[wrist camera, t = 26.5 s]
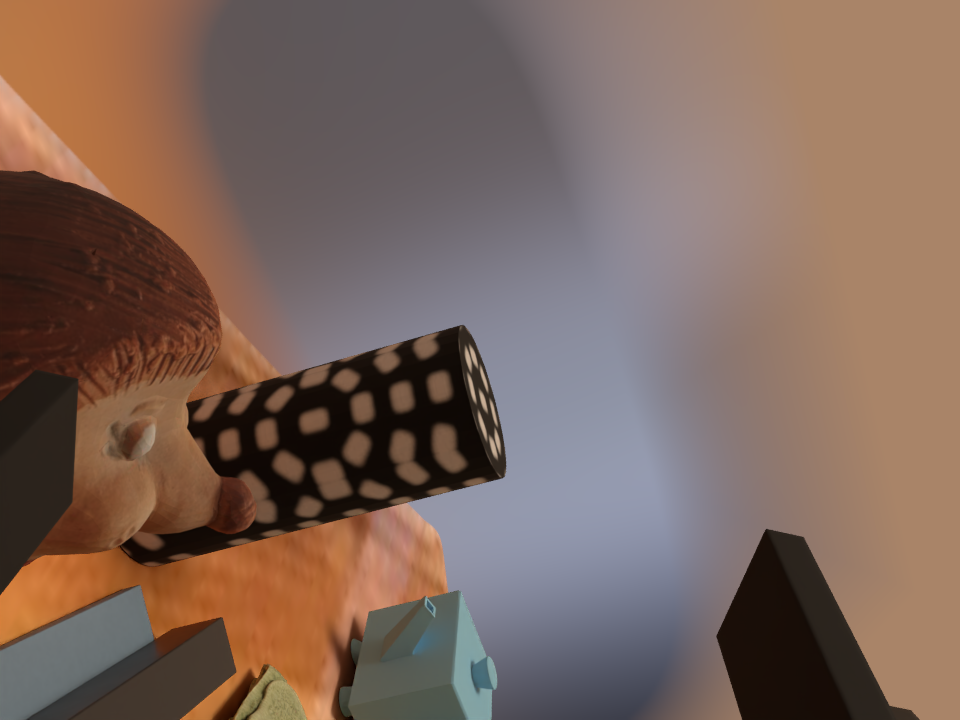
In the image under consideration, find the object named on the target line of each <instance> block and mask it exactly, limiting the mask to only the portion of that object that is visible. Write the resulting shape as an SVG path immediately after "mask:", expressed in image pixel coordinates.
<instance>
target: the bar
mask: <svg viewBox="0 0 960 720" xmlns="http://www.w3.org/2000/svg"><path fill="white" fill-rule="evenodd" d="M235 673H236V668H235V664H234V660H233V656H232V652H231V648H230V645H229V641H228V637H227V633H226V629H225V625H224V621H223V618H222V617H220V618H216V619H212V620H207V621H203V622H199V623H195V624H191V625H187V626H183V627H179V628H175V629H172V630H170V631H168V632H167V633H165V634H164V635H162V636H160V637H159V638H157V639H156V640H154V641H152V642H151V643H149V644H147V645H146V646H144V647H143V648H141V649H139V650H138V651H136V652H135V653H133V654H131V655H130V656H128V657H127V658H125V659H123V660H122V661H120V662H118V663H117V664H115V665H114V666H112V667H110V668H109V669H107V670H106V671H104V672H102V673H101V674H99V675H97V676H96V677H94V678H93V679H91V680H89V681H88V682H86V683H85V684H83V685H81V686H80V687H78V688H77V689H75V690H73V691H72V692H70V693H68V694H67V695H65V696H64V697H62V698H60V699H59V700H57V701H56V702H54V703H52V704H51V705H49V706H48V707H46V708H44V709H43V710H41V711H39V712H38V713H36V714H35V715H33V716H31V717H30V718H28V719H27V720H180V719H181V718H182V717H183V716H185V715H186V714H187V713H188V712H189V711H191V710H192V709H193V708H194V707H195V706H196V705H198V704H199V703H200V702H201V701H202V700H204V699H205V698H206V697H207V696H208V695H210V694H211V693H212V692H213V691H214V690H216V689H217V688H218V687H219V686H220V685H222V684H223V683H224V682H225V681H226V680H227V679H229V678H230V677H231V676H232V675H233V674H235Z"/></svg>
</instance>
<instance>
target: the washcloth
mask: <svg viewBox="0 0 960 720" xmlns="http://www.w3.org/2000/svg"><path fill="white" fill-rule="evenodd" d="M229 720H307V718H306V716H305V712H304V709H303V707H302V705H301V702H300V700H299V698H298V696H297V694H296V693H295V691H294V690H293V689H292V687H291V686H290V685H288V684H287V680H285V679H284V678H283V676H282V675H281V674H280V673H279V671H277V670H276V669H275V668H274V667H272V666H271V665H269V664H267V665H265V664H264V665H263V667H262V669H261V672H260V675H259V677H258V678H254V679H253V680H252V682H251V684H250V689H249V692H248V695H247V697H246V698H245V700H243V701H242V703H241V706H240V707H239V709H238V710H237V712H236V714H235V716H234V717H231V718H230V719H229Z"/></svg>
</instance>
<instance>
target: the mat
mask: <svg viewBox="0 0 960 720" xmlns="http://www.w3.org/2000/svg"><path fill="white" fill-rule="evenodd" d="M152 641H154V637H153V633H152V629H151V625H150V621H149V617H148V613H147V609H146V605H145V601H144V597H143V593H142V589H141V586H140V585H138V586H134V587H130V588H126V589H123V590H120V591H118V592H116V593H114V594H112V595H110V596H108V597H105V598H103V599H101V600H99V601H97V602H95V603H92V604H90V605H88V606H86V607H84V608H82V609H79V610H77V611H75V612H73V613H71V614H69V615H66V616H64V617H62V618H60V619H58V620H56V621H53V622H51V623H49V624H47V625H45V626H43V627H41V628H38V629H36V630H34V631H32V632H30V633H28V634H25V635H23V636H21V637H19V638H17V639H15V640H12V641H10V642H8V643H6V644H4V645H2V646H0V720H27V719H28V718H30V717H31V716H33V715H35V714H36V713H38V712H39V711H41V710H43V709H44V708H46V707H48V706H49V705H51V704H52V703H54V702H56V701H57V700H59V699H60V698H62V697H64V696H65V695H67V694H68V693H70V692H72V691H73V690H75V689H77V688H78V687H80V686H81V685H83V684H85V683H86V682H88V681H89V680H91V679H93V678H94V677H96V676H97V675H99V674H101V673H102V672H104V671H106V670H107V669H109V668H110V667H112V666H114V665H115V664H117V663H118V662H120V661H122V660H123V659H125V658H127V657H128V656H130V655H131V654H133V653H135V652H136V651H138V650H139V649H141V648H143V647H144V646H146V645H147V644H149V643H151V642H152Z"/></svg>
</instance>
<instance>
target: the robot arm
mask: <svg viewBox="0 0 960 720" xmlns="http://www.w3.org/2000/svg"><path fill="white" fill-rule="evenodd" d="M78 382H79V379H77V378H73V377H68V376H64V375H59V374H55V373H50V372H45V371H41V370H35V371H34V372H32V373H31V374H30V375H29V376H28V377H27V378H26V379H25V380H24V381H22V382H21V383H20V384H19V385H18V386H17V387H16V388H15V389H14V390H12V391H11V392H10V393H9V394H8V395H7V396H6V397H5V398H4V399H2V400H1V401H0V595H1V593H2V592H3V591H4V590H5V588H6V587H7V586H8V585H9V583H10V582H11V581H12V579H13V578H14V577H15V576H16V574H17V573H18V572H19V570H20V569H21V568H22V567H23V565H24V564H25V563H26V561H27V560H28V559H29V558H30V556H31V555H32V554H33V552H34V551H35V550H36V549H37V547H38V546H39V545H40V543H41V542H42V541H43V540H44V538H45V537H46V536H47V534H48V533H49V532H50V531H51V529H52V528H53V527H54V526H55V524H56V523H57V522H58V520H59V519H60V518H61V517H62V515H63V514H64V513H65V511H66V510H67V509H68V508H69V506H70V505H71V504H72V502H73V482H74V462H75V442H76V422H77V402H78ZM717 639H718V643H719V646H720V649H721V652H722V656H723V659H724V662H725V665H726V668H727V672H728V675H729V678H730V682H731V684H732V688H733V691H734V694H735V698H736V701H737V704H738V708H739V711H740V714H741V717H742V720H919V719H918V717H916V715H915V714H914V713H913V712H912V711H911V710H907V709H902V708H897V707H892V706H889V704H888V702H887V700H886V699H885V696H884V694H883V692H882V690H881V689H880V686H879V684H878V683H877V681H876V679H875V677H874V675H873V673H872V671H871V669H870V667H869V665H868V663H867V661H866V659H865V657H864V655H863V653H862V651H861V649H860V647H859V645H858V644H857V641H856V639H855V637H854V636H853V633H852V631H851V629H850V628H849V626H848V624H847V622H846V620H845V618H844V616H843V614H842V612H841V610H840V608H839V606H838V604H837V602H836V600H835V598H834V596H833V594H832V592H831V590H830V588H829V586H828V584H827V583H826V580H825V578H824V576H823V574H822V572H821V571H820V569H819V567H818V565H817V563H816V561H815V559H814V557H813V555H812V553H811V551H810V549H809V547H808V545H807V543H806V541H805V539H804V537H801V536H796V535H792V534H787V533H782V532H778V531H773V530H768V529H766V530H765V532H764V534H763V536H762V539H761V541H760V543H759V545H758V547H757V549H756V552H755V554H754V556H753V558H752V560H751V562H750V564H749V567H748V569H747V571H746V573H745V575H744V577H743V580H742V582H741V584H740V587H739V588H738V591H737V593H736V595H735V597H734V599H733V601H732V603H731V606H730V608H729V610H728V612H727V614H726V616H725V619H724V621H723V623H722V625H721V627H720V629H719V632H718V634H717Z"/></svg>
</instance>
